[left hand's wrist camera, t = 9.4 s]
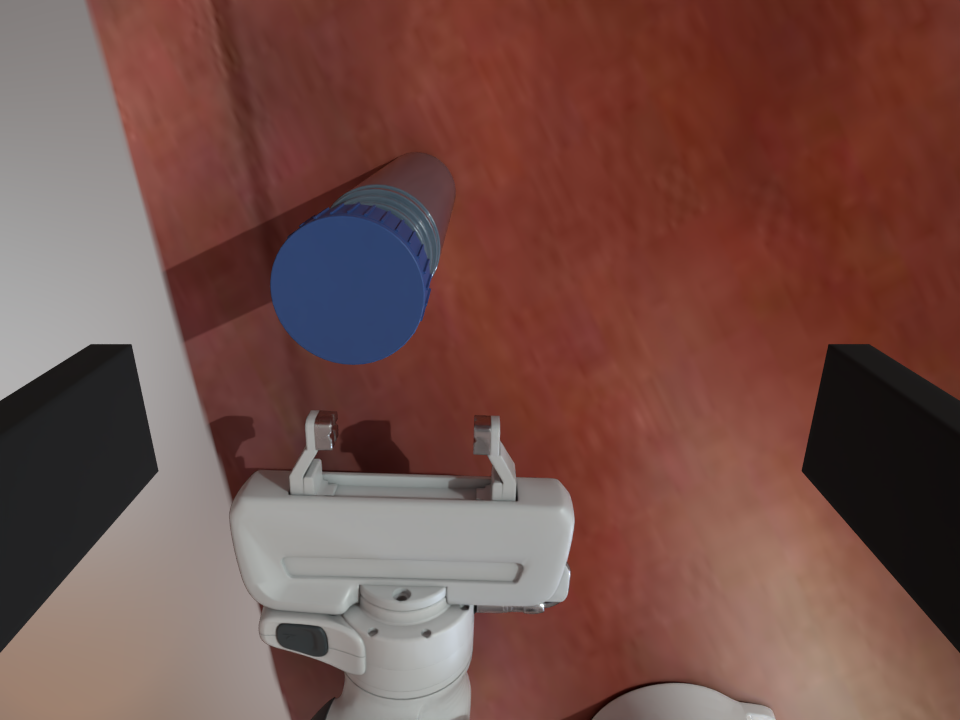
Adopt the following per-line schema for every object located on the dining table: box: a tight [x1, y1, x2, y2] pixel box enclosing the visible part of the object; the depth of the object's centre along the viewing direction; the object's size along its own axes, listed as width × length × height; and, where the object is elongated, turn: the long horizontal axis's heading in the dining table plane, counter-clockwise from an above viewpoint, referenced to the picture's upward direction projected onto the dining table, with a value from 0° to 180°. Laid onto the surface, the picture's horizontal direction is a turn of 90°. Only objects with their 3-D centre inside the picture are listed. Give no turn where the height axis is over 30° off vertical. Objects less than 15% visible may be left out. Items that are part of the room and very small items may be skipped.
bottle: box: [330, 152, 455, 279], centre depth 29 cm, size 4×4×22 cm
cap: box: [270, 202, 432, 365], centre depth 19 cm, size 4×4×2 cm
